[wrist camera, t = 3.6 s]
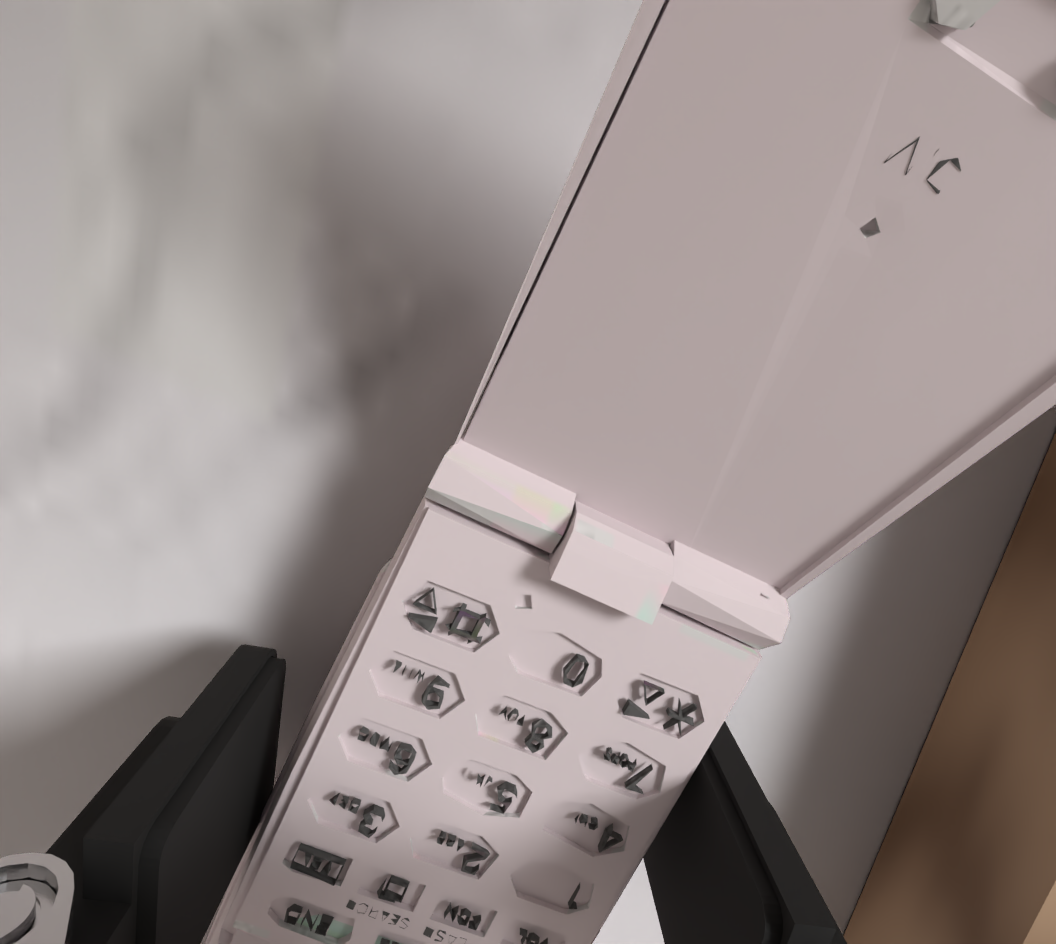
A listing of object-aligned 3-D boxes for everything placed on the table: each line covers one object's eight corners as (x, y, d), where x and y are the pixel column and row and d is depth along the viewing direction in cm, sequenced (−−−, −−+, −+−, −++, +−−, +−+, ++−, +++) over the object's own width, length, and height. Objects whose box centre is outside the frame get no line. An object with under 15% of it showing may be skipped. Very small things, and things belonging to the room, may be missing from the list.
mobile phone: (1774, -137, 4) (295, 1686, 9) (996, 147, 9) (382, 1149, 15) (967, -831, 3) (-121, 1613, 8) (664, -57, 9) (143, 1076, 14)
